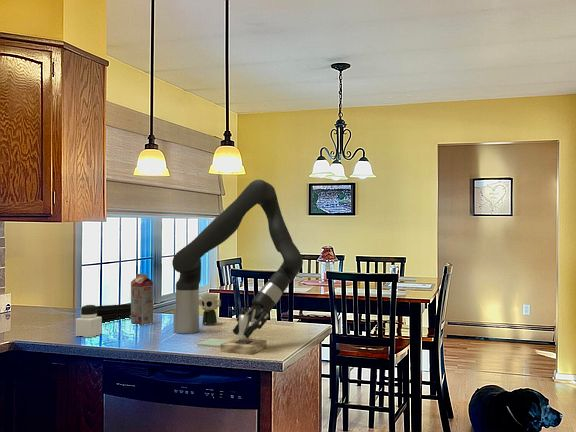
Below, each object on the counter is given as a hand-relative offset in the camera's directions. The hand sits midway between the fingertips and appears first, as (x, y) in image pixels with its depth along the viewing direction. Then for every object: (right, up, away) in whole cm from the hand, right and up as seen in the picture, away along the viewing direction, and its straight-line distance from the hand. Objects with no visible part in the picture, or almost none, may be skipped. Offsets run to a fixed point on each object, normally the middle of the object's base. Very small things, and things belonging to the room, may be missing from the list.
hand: (240, 334), depth 201 cm
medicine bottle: (-62, -6, +26) cm, 67 cm away
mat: (-10, -6, +11) cm, 16 cm away
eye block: (+1, -5, +1) cm, 6 cm away
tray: (-67, -7, +66) cm, 94 cm away
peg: (+1, -5, +1) cm, 6 cm away
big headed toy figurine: (-17, -6, +51) cm, 54 cm away
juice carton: (-47, -6, +52) cm, 70 cm away
